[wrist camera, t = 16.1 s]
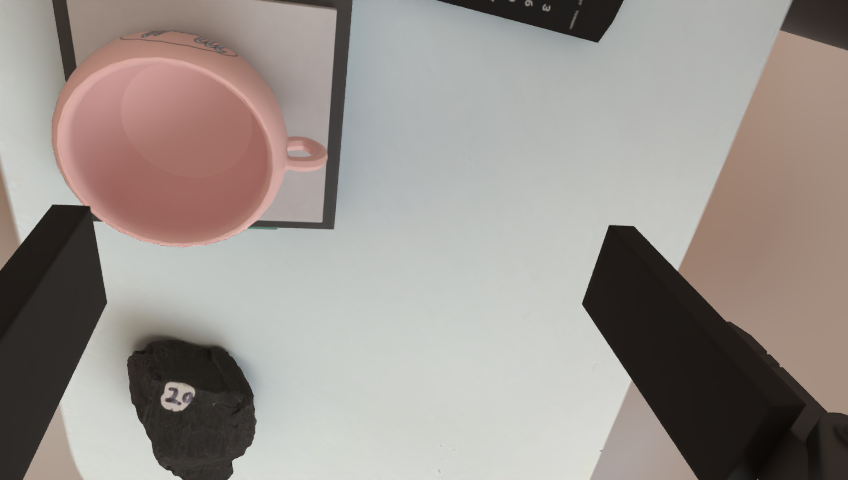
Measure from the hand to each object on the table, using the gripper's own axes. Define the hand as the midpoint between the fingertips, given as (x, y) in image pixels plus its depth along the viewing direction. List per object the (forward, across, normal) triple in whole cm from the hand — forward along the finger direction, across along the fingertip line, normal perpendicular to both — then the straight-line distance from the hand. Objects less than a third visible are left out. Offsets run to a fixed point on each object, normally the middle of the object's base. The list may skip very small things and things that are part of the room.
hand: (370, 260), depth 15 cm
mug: (+19, -6, -3) cm, 20 cm away
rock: (+22, -9, -26) cm, 35 cm away
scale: (+22, -6, -3) cm, 23 cm away
